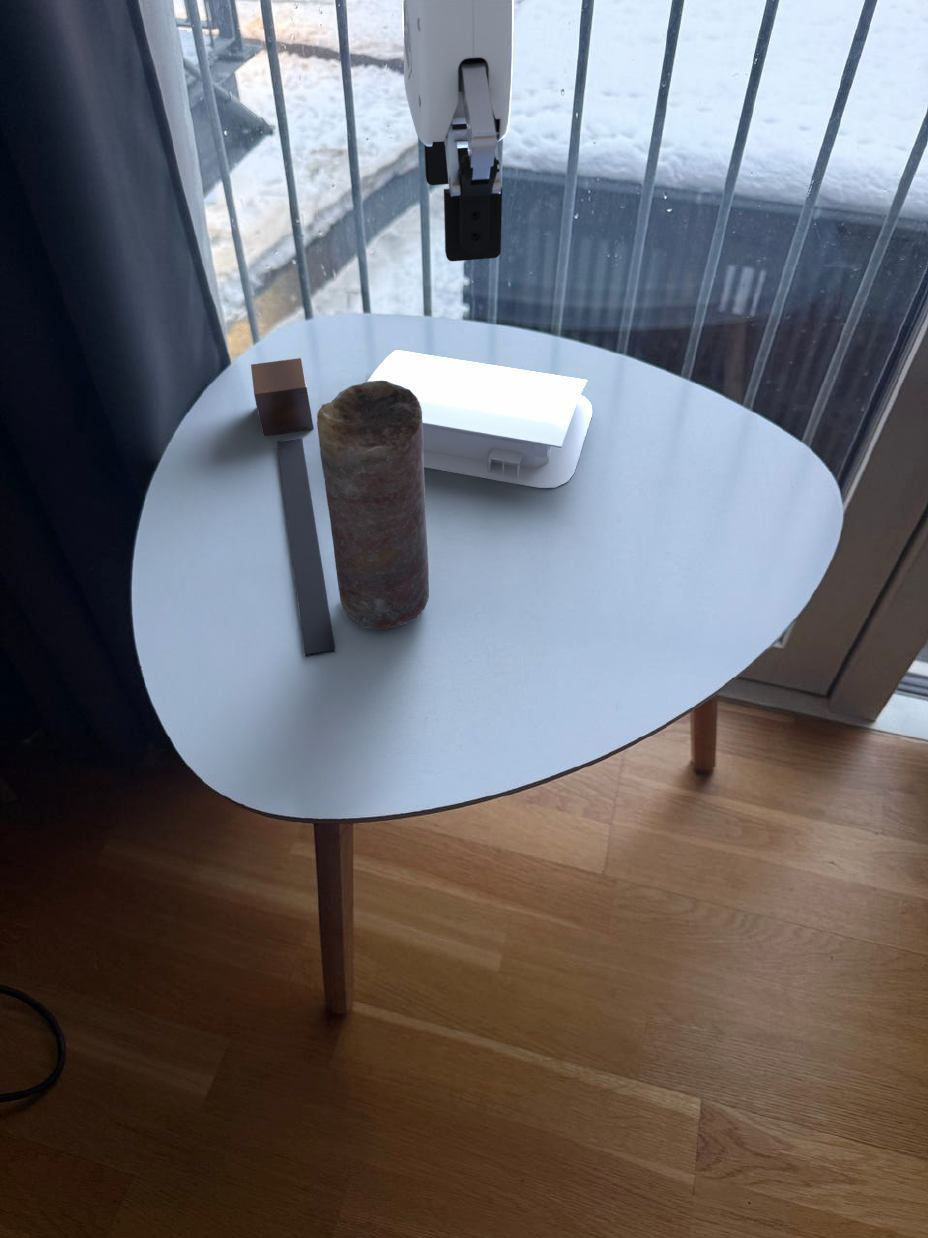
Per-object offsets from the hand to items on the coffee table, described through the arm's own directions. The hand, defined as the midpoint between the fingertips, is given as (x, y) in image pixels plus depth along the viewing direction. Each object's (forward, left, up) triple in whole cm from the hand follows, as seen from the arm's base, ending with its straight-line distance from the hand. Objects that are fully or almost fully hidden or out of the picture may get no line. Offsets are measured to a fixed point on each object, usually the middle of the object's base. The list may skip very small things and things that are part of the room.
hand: (461, 217), depth 56 cm
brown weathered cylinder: (-8, -4, -30) cm, 31 cm away
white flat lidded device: (+4, +18, -30) cm, 35 cm away
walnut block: (-14, +23, -30) cm, 40 cm away
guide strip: (-14, +5, -30) cm, 33 cm away
